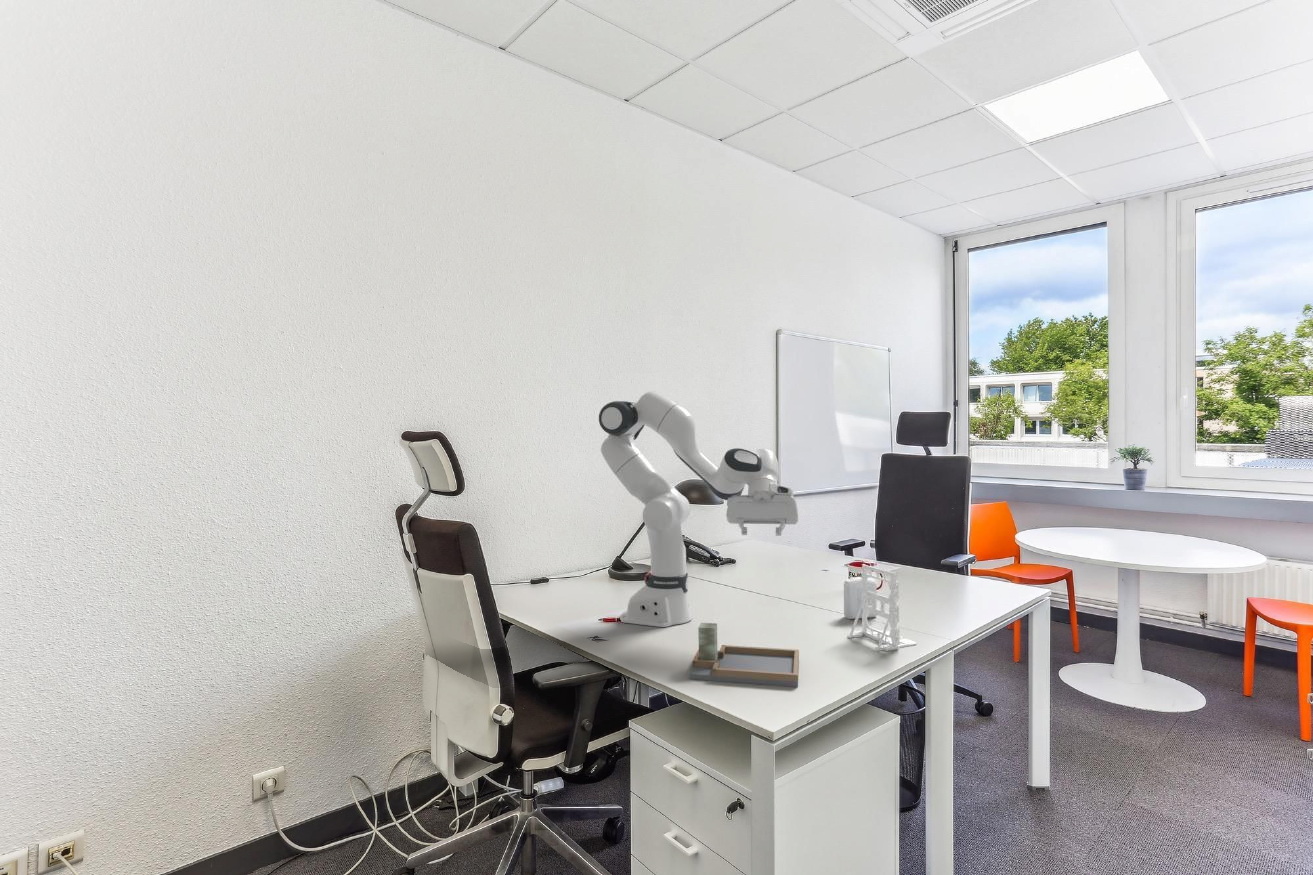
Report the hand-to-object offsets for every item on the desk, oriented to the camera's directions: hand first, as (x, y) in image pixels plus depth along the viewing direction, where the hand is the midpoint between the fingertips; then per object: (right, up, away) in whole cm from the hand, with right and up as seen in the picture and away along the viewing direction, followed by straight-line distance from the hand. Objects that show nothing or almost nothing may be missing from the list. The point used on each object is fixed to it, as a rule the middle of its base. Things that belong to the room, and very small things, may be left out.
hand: (761, 534), depth 175 cm
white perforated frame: (+33, -29, -3) cm, 44 cm away
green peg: (-16, -29, -20) cm, 38 cm away
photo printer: (+34, -29, +20) cm, 49 cm away
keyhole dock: (-7, -30, -22) cm, 38 cm away
